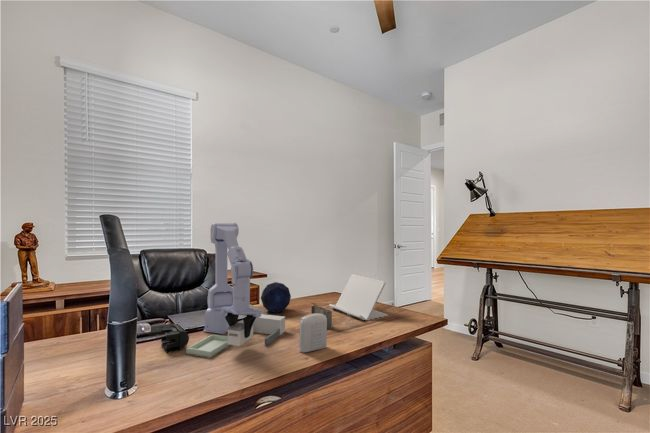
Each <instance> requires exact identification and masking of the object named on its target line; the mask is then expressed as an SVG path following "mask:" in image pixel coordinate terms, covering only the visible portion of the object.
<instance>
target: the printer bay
mask: <svg viewBox="0 0 650 433" xmlns="http://www.w3.org/2000/svg"><path fill="white" fill-rule="evenodd" d="M285 331H286V316H283V315H282V316H281V315H275V314H263V313H261V317H259V318H256V319H255V321H254V323H253V333H256V334H257V333H259V334H265V335H267V336H266V337H265V338H264V346H266V347H267V346H268V345H270V344H271V343H272V342H274V341H275V340H276V339H277V338H278V337H280V336H281V335H283V334H284V333H285Z"/></svg>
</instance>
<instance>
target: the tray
mask: <svg viewBox="0 0 650 433" xmlns="http://www.w3.org/2000/svg"><path fill="white" fill-rule="evenodd" d="M230 346H231V345H229V344H228V335H222V334H220V335H219V334H215V333H211V334H210V335H209V336H206V337H205V338H203V339H201V340H199V341H196V342H195V343H193V344H192V345H189V346H188V347H186V348H185V350H186V351H185V355H190V356H196V357H202V358H208V359H211V358H212V357H214V356H216V355H217V354H219V353H221V352H222V351H224V350H225V349H227V348H228V347H230Z"/></svg>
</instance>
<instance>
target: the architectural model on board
mask: <svg viewBox="0 0 650 433" xmlns="http://www.w3.org/2000/svg"><path fill="white" fill-rule="evenodd" d="M310 303H311V304H312V305H311V313H310V314H315V313H319V314H323V315H325V316H326V318H327V330H330V329H332V328H333V326H332V325H333V322H332V318H333V317H332V316H333V312H332V311H333V310H330V309H327V308H325V307H322V306H319V305H318V304H317V303H315V302H312V301H311V302H310Z"/></svg>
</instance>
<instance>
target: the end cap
mask: <svg viewBox="0 0 650 433" xmlns="http://www.w3.org/2000/svg"><path fill="white" fill-rule="evenodd" d="M172 324H173V323H172ZM161 333H165V334H164V335H162V336H161V337H160V338H161V339H160V341H161V344H160V346H161V347H162V348H163V349H164V351H165V353H166V354H169V353H174V352H179V351H181V350H182V349H184V348H185V347H186V346H187V345H188V343H189V340H190V337H189V336H190V335H189V333H187V331H186V330H184V329H183V328H182V327H181V326H180V325H178V324H173V327H167V328H162V329H161Z"/></svg>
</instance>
